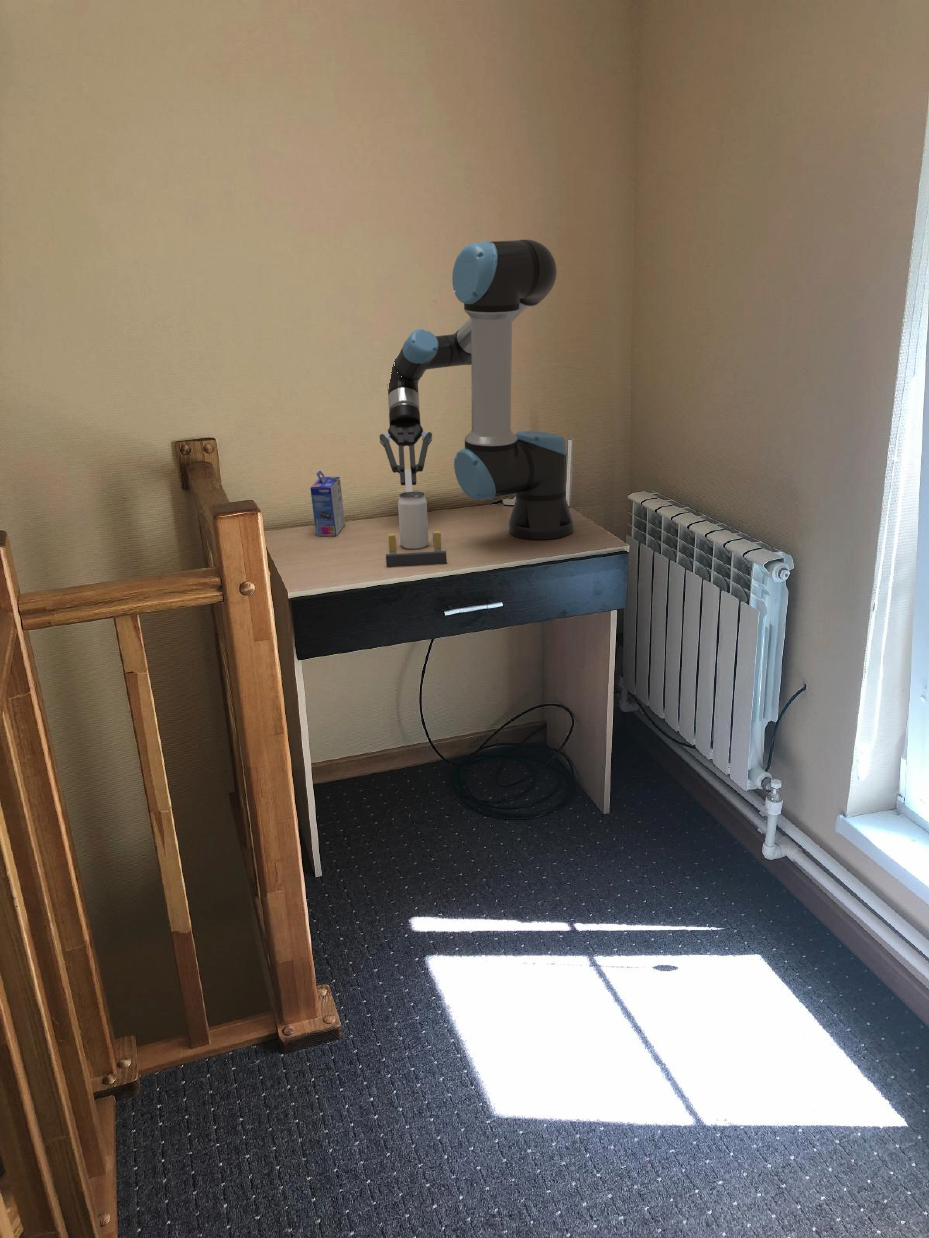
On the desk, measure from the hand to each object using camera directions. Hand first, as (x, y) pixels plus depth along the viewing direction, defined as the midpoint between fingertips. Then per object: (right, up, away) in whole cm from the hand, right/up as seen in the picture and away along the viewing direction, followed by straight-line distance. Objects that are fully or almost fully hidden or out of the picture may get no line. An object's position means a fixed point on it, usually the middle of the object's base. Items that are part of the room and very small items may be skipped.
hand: (409, 496), depth 241 cm
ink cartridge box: (-20, -8, +7) cm, 22 cm away
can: (+2, -12, -7) cm, 14 cm away
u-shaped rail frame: (+2, -14, -11) cm, 17 cm away
